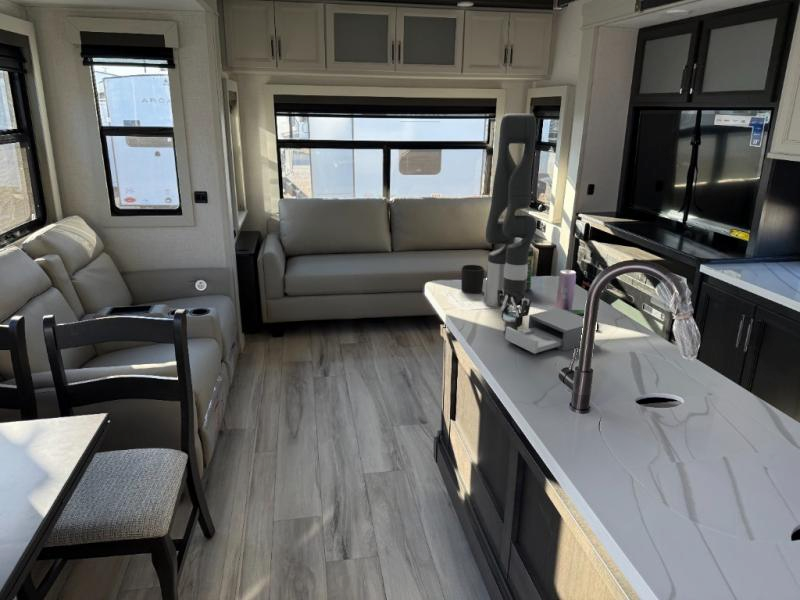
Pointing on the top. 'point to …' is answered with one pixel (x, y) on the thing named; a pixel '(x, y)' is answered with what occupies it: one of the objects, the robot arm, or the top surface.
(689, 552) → the top surface
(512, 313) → the disc
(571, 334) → the box
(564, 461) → the top surface
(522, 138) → the robot arm
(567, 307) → the beverage can
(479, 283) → the pen holder
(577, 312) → the disk drive
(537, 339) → the tray
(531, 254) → the coffee jar
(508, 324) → the pedestal
